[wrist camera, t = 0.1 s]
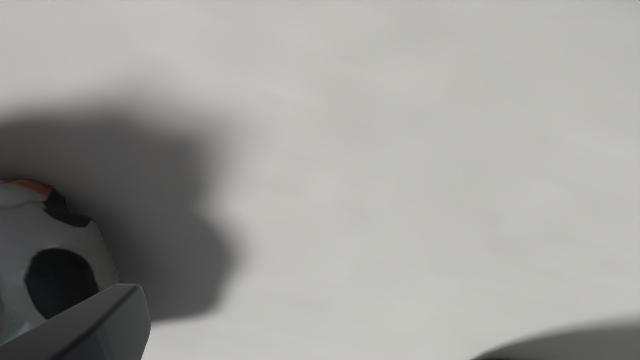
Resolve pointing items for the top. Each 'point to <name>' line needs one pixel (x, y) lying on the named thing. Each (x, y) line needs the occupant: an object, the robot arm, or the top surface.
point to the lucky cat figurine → (46, 257)
